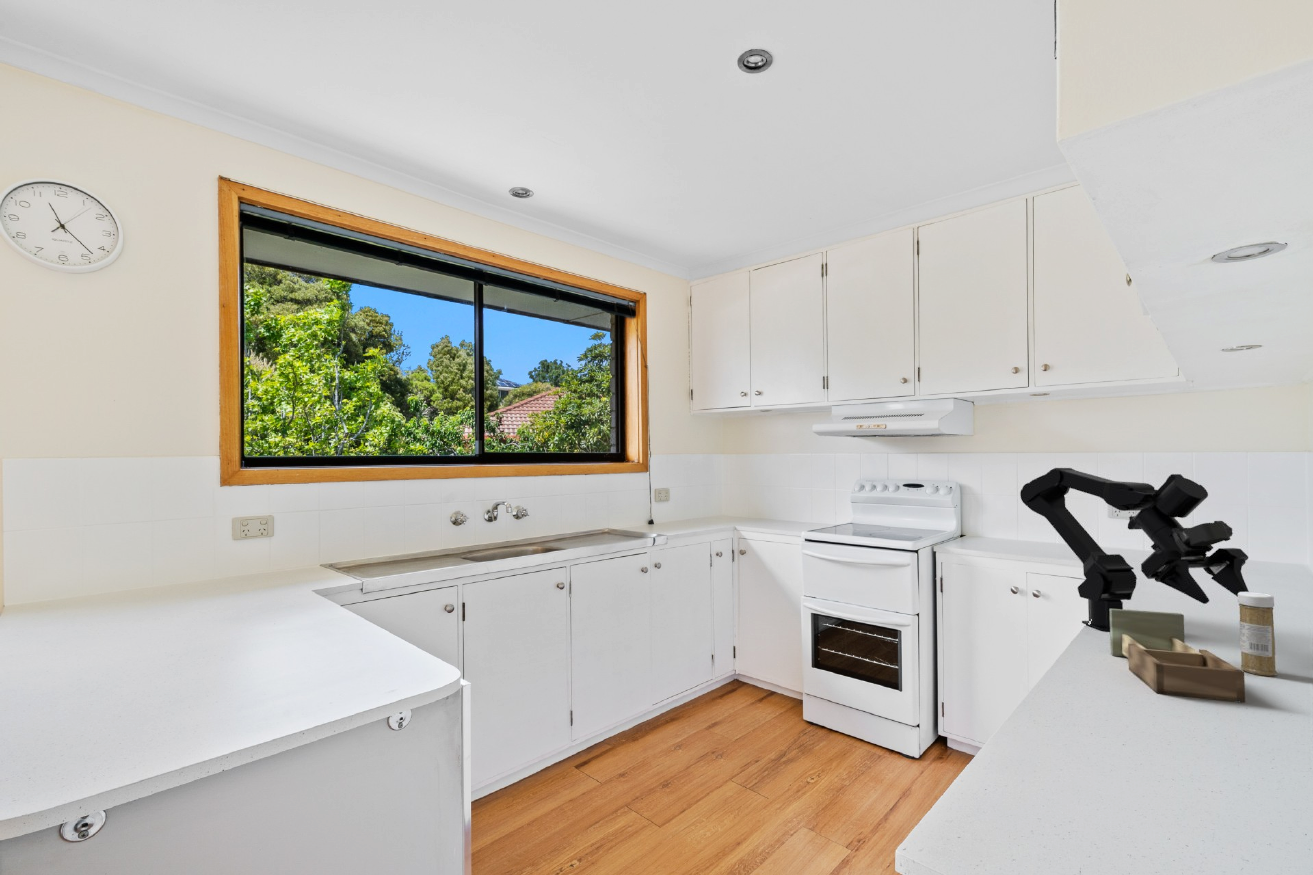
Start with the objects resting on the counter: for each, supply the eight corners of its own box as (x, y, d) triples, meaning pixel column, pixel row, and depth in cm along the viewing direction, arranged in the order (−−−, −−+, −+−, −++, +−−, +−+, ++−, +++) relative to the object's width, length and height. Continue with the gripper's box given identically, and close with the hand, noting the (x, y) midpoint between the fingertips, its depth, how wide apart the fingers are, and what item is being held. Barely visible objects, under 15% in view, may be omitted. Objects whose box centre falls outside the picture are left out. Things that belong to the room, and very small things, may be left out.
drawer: (1110, 653, 119) (1109, 608, 119) (1182, 659, 115) (1180, 613, 116) (1134, 673, 108) (1133, 623, 108) (1214, 681, 104) (1212, 629, 104)
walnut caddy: (1128, 669, 110) (1128, 643, 110) (1206, 676, 107) (1206, 649, 107) (1156, 693, 99) (1156, 664, 99) (1245, 702, 95) (1244, 672, 95)
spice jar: (1280, 673, 108) (1277, 594, 109) (1272, 678, 106) (1269, 597, 106) (1244, 666, 112) (1242, 589, 113) (1236, 670, 110) (1233, 592, 110)
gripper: (1153, 506, 118) (1217, 576, 107) (1235, 505, 121) (1306, 573, 110) (1116, 543, 126) (1173, 613, 114) (1195, 542, 129) (1257, 609, 118)
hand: (1228, 601), depth 114 cm, fingers open, 9 cm apart
